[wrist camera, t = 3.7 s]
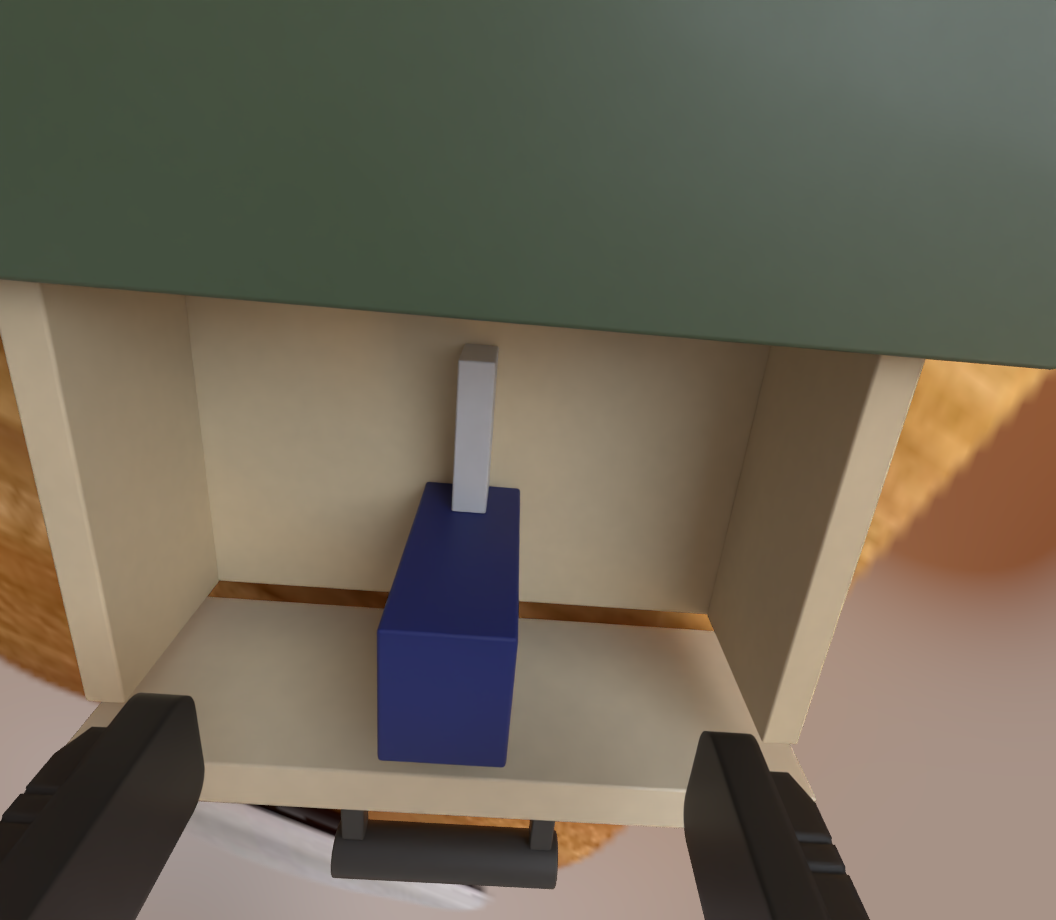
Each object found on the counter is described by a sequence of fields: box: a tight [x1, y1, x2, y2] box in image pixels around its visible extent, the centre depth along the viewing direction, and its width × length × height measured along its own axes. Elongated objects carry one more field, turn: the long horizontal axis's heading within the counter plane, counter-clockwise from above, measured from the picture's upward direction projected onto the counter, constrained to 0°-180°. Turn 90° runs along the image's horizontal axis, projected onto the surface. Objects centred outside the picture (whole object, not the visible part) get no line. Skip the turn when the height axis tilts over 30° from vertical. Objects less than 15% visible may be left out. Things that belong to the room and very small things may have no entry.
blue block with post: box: [377, 343, 520, 768], centre depth 13 cm, size 2×7×6 cm, turn 175°
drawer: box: [0, 280, 925, 889], centre depth 15 cm, size 18×16×6 cm
